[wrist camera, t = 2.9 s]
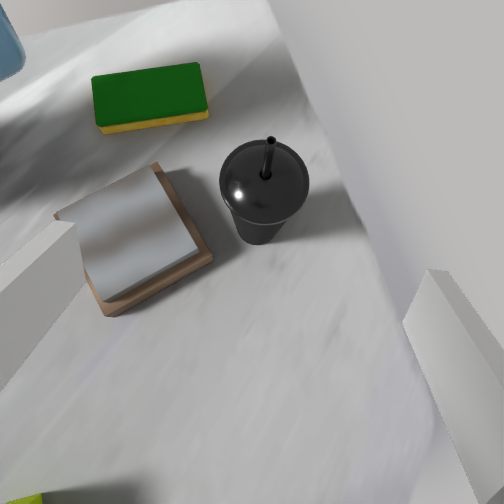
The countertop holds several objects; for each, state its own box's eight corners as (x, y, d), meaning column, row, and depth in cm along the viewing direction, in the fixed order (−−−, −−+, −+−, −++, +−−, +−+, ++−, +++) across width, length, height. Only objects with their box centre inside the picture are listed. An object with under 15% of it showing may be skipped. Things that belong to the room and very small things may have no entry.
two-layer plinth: (66, 222, 42) (43, 208, 37) (162, 172, 44) (153, 153, 39) (114, 317, 40) (97, 315, 35) (214, 260, 42) (210, 251, 37)
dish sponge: (209, 120, 46) (208, 108, 44) (103, 136, 45) (95, 125, 43) (201, 74, 48) (198, 60, 45) (98, 88, 47) (90, 75, 44)
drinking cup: (240, 267, 42) (241, 212, 22) (215, 210, 43) (196, 113, 23) (298, 242, 43) (348, 168, 23) (271, 187, 44) (297, 75, 24)
